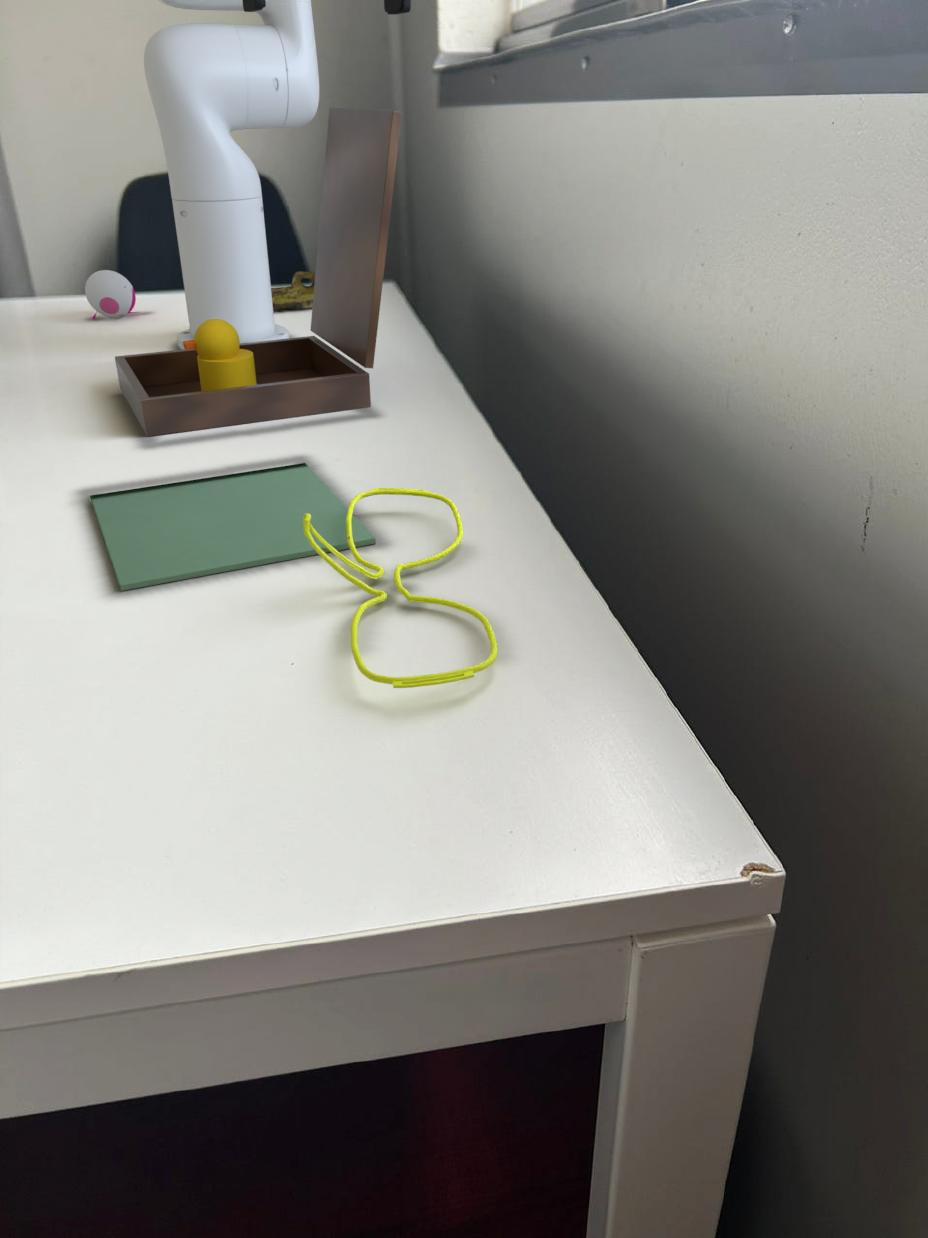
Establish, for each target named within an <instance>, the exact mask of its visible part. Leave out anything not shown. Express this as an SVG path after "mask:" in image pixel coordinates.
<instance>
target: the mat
mask: <svg viewBox="0 0 928 1238" xmlns="http://www.w3.org/2000/svg"><path fill="white" fill-rule="evenodd" d="M89 498H90V499H89V500H90V501H91V504H92V507H93V510H94V514H95V516H96V520H97V522H98V526H99V529H100V532H101V535H102V537H103V540H104V544H105V547H106V551H107V553H108V556H109V559H110V563H111V566H112V569H113V571H114V574H115V577H116V580H117V583H118V586H119V589H120V591H121V592H124V591H130V590H135V589H140V588H145V587H150V586H157V585H161V584H167V583H172V582H178V581H181V580H182V581H183V580H188V579H193V578H198V577H204V576H209V575H215V574H220V573H226V572H230V571H236V570H241V569H247V568H252V567H257V566H261V565H262V566H263V565H268V564H273V563H278V562H284V561H288V560H289V561H290V560H293V559H295V560H296V559H301V558H305V557H311V556H315V555H319V554H318V553H317V552H316V550H315V549H314V548H313V547H312V545H311V544H310V542H309V541H308V539H307V538H306V536H305V534H304V528H303V521H304V517H303V515H304V514H305V513H308V514H310V515H311V520H310V523H311V525H312V526H313V528H314V529H315V530H316V531H317V533H318V534H319V535H320V536H321V537H322V538H323V539H324V540H325V541H326V542H327V543H328V544H330V545H331V546H332V547H333V548H335V549H336V550H337V551H338V552H339V551H343V550H348V549H349V550H350V548H349V545H348V540H347V532H346V517H347V512H348V508H349V507H347V506H346V505H345V504H344V502H342V501H341V500H340V498H339V497H338V496H337V495H336V494H335V493H334V492H333V491H332V490H331V489H330V487H328V486H327V484H325V483H324V482H323V480H322V479H321V478H320V477H319V476H318V475H317V474H316V473H315V472H314V470H312V469H311V468H310V467H309V466H308V464H307V463H306V462H301V463H295V464H288V465H281V466H275V467H267V468H263V469H255V470H248V471H243V472H236V473H229V474H222V475H216V476H209V477H203V478H197V479H190V480H184V481H183V480H182V481H178V482H177V481H176V482H170V483H164V484H163V483H162V484H156V485H150V486H144V487H138V488H137V487H136V488H130V489H123V490H117V491H110V492H105V493H97V494H91V495H89ZM351 524H352V537H353V542H354V545H355V547H356V548H358V547H364V546H370V545H374V544H376V543H377V542H376V537H375V536H374V535H373V534H372V533H371V531H369V530H368V529H367V527H365V525H364V524H363V523H362V522H361V521H360V520H359V519H358V518H357V517H356V515H354V513H352V519H351ZM309 531H310V533H311V535H312V537H313V540H314V541H315V542H316V544H317V545H318V546H319V547H320V548H321V549H322V550H323V551H324V552H325V553H326V554H327V553H332V552H331V551H329V550H328V549H327V548H326V547H325V546H324V545H323V544H322V543H321V542H320V541H319V540H318V539H317V538H316V537H315V535H314V534H313V533H312V532H311V530H310V529H309Z"/></svg>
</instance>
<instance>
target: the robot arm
mask: <svg viewBox="0 0 928 1238" xmlns="http://www.w3.org/2000/svg"><path fill="white" fill-rule="evenodd" d="M158 1H159V2H160V3H162V4H164V5H166V6H169V7H173V8H176V9H182V10H195V11H229V12H230V11H231V12H233V11H234V12H237V11H239V12H245V13H256V14H258V16H259V17H260V18H261V20H262V22H263V24H234V23H233V24H232V23H206V22H205V23H202V22H201V23H199V22H198V23H197V22H195V23H194V22H193V23H192V22H191V23H179V24H173V25H168V26H166V27H163V28H160V29H159V30H158V31H156V32H155V33H154V34H152V35H151V37H149V39H148V41H147V42H146V44H145V48H144V52H143V67H144V75H145V80H146V83H147V88H148V92H149V95H150V99H151V102H152V106H153V108H154V110H153V111H154V114H155V117H156V120H157V124H158V128H159V132H160V137H161V141H162V147H163V151H164V156H165V162H166V170H167V174H168V180H169V181H168V182H169V187H170V188H169V189H170V195H171V202H172V210H173V217H174V223H175V232H176V238H177V245H178V254H179V259H180V267H181V273H182V274H181V275H182V282H183V289H184V296H185V297H184V298H185V303H186V310H187V311H186V312H187V317H188V318H187V319H188V325H189V328H188V329H185V330H184V331H182V332H180V333H178V335H177V336H176V341H177V342H176V343H177V347H178V348H179V350H182V349H185V348H184V346H183V341H188V340H194V335H195V332H196V330H197V328H198V327H199V326H200V325H201V324H202V323H203V322H205V321H207V320H210V319H221V320H224V321H226V322H228V323H229V324H231V325H232V326H233V327H234V328H235V330H236V331H237V333H238V336H239V340H240V343H249V342H259V341H268V340H278V339H288V338H290V331H289V329H288V328H286V327H285V326H282V325H280V324H275V315H274V311H273V304H272V293H271V288H272V283H271V275H270V273H271V272H270V263H269V255H268V254H269V253H268V244H267V233H266V223H265V213H264V212H265V211H264V202H263V193H262V184H261V179H260V175H259V172H258V170H257V168H256V166H255V164H254V162H253V161H252V159H251V158H250V157H249V156H248V154H247V153H246V152H245V151H244V150H243V149H242V148H241V147H240V145H238V143H237V142H236V141H235V140H234V138H233V137H232V135H231V132H234V131H242V130H260V129H261V130H264V129H289V128H290V129H292V128H299V127H303V126H305V125H308V124H309V123H310V122H311V121H313V119H314V118H315V116H316V114H317V112H318V107H319V103H320V74H319V64H318V53H317V45H316V37H315V35H316V34H315V27H314V17H313V9H312V0H158ZM383 8H384V12H385V13H387V15H401V14H407V13H410V12H411V8H412V0H383Z"/></svg>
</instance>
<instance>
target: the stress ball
mask: <svg viewBox="0 0 928 1238" xmlns="http://www.w3.org/2000/svg"><path fill="white" fill-rule="evenodd" d="M84 293H85V298H86V300H87V302H88V304H89V305H90V306H91V308H93V310H95V311H96V312H95V313H94V314H93V316H92V320H95V319H96V316H97V313H99V314H100V315H102V316H103V317H108V318H112V319H114V318H115V319H119V318H123V317H125V316H127V315H129V314H130V315H131V314H139V313H140V311H133V309H134V307H135V305H136V300H137V299H136V292H135V289H134V286H133V285H132V283H131V282H130V281H129V280H128V279H127V277H125V276H124V275H122V274H121V273H119V272H117V271H114V270H111V269H102V270H98V271H95V272H93V273H92V274H91V275H89V276H88V278H87V280H86V282H85V285H84Z"/></svg>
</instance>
